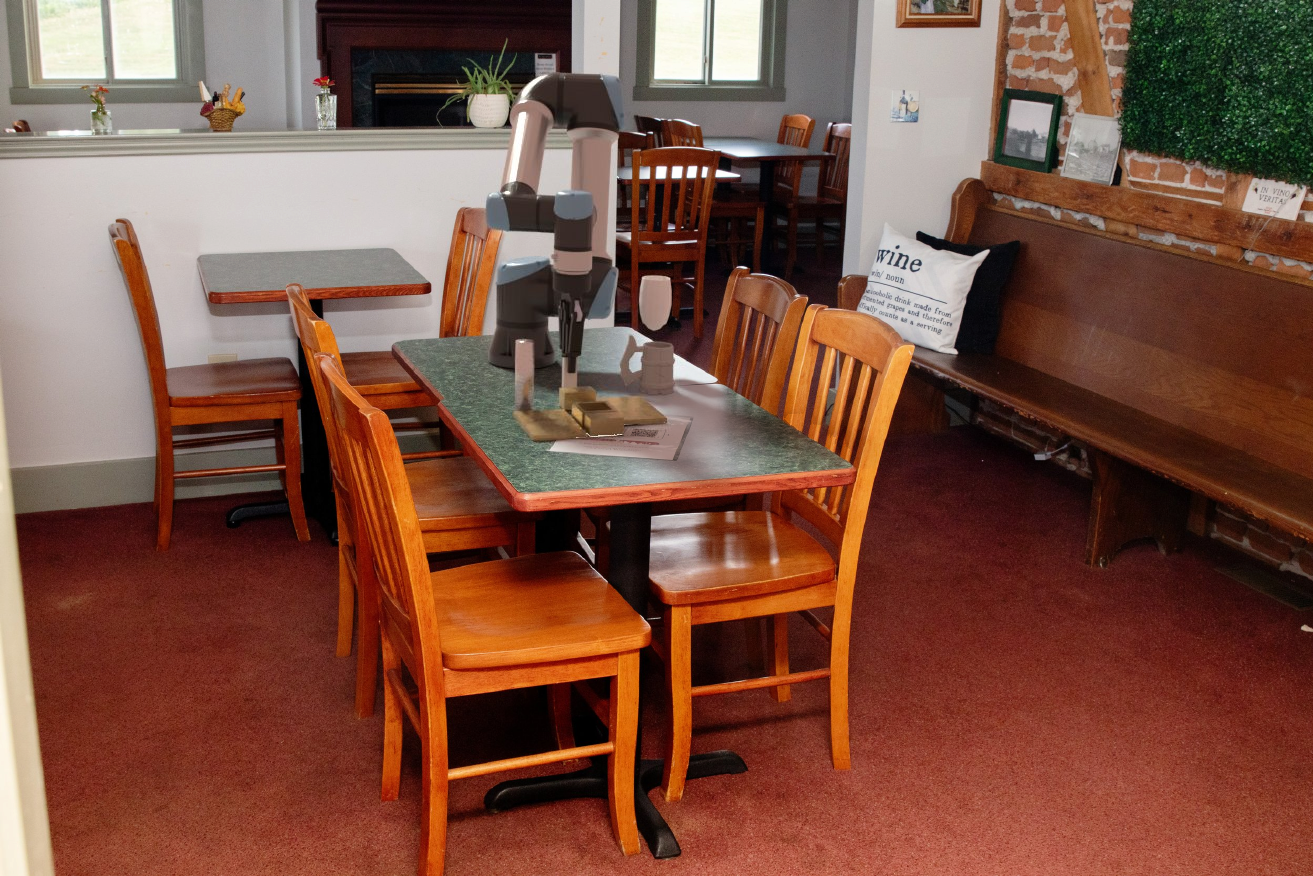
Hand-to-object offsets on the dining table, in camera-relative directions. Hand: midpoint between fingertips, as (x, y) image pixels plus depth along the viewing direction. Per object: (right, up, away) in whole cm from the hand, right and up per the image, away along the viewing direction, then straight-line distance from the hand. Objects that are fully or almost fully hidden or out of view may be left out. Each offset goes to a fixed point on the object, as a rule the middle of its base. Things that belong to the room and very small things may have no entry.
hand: (569, 387), depth 250 cm
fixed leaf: (+1, -8, -17) cm, 19 cm away
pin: (-8, -5, -9) cm, 13 cm away
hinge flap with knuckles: (+9, -5, -8) cm, 13 cm away
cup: (+17, +5, +28) cm, 33 cm away
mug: (+16, 0, +10) cm, 19 cm away
